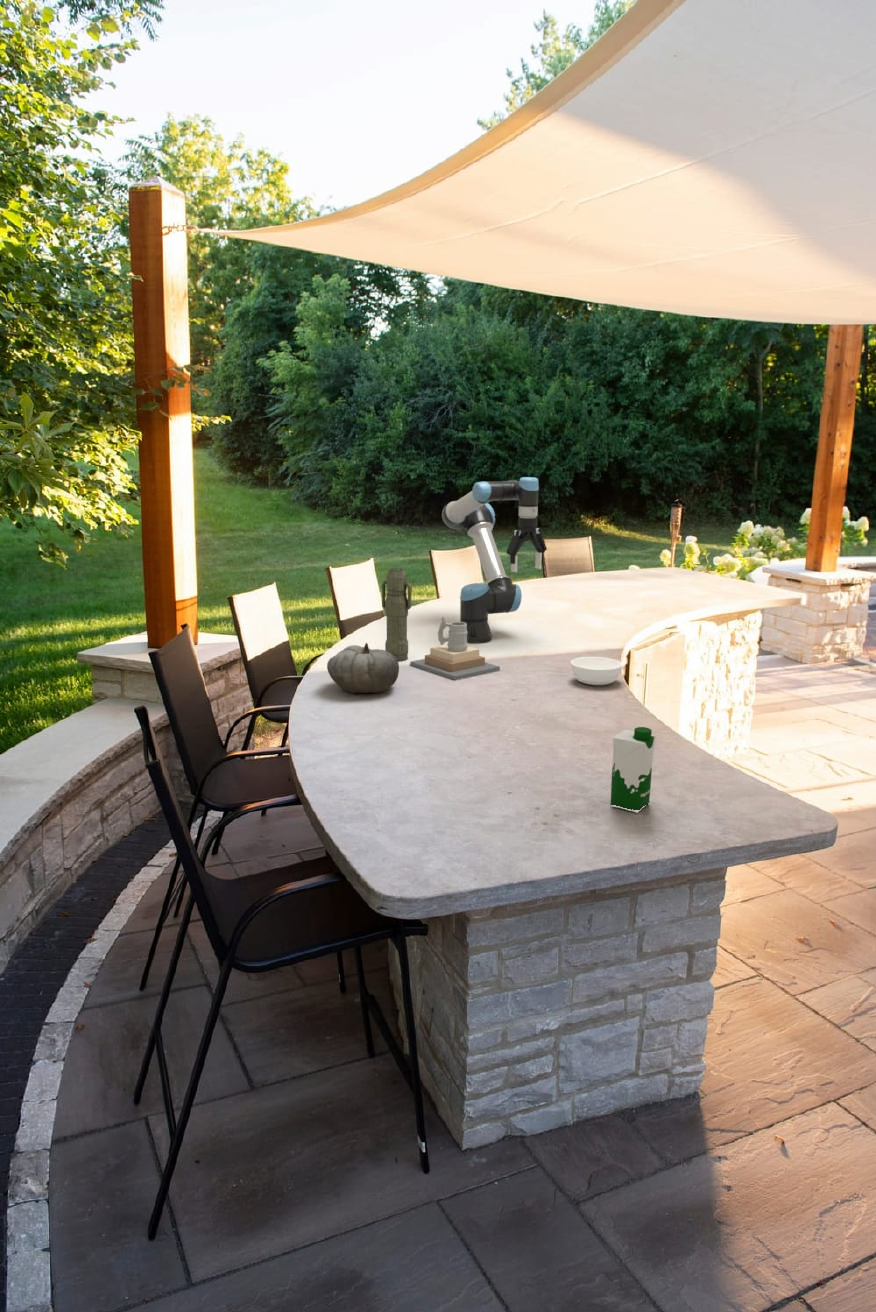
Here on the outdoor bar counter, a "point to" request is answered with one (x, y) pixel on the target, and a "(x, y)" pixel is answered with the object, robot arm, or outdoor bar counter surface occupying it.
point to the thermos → (397, 613)
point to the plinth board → (457, 673)
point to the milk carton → (632, 768)
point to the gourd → (363, 669)
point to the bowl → (596, 670)
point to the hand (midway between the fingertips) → (526, 570)
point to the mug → (454, 635)
